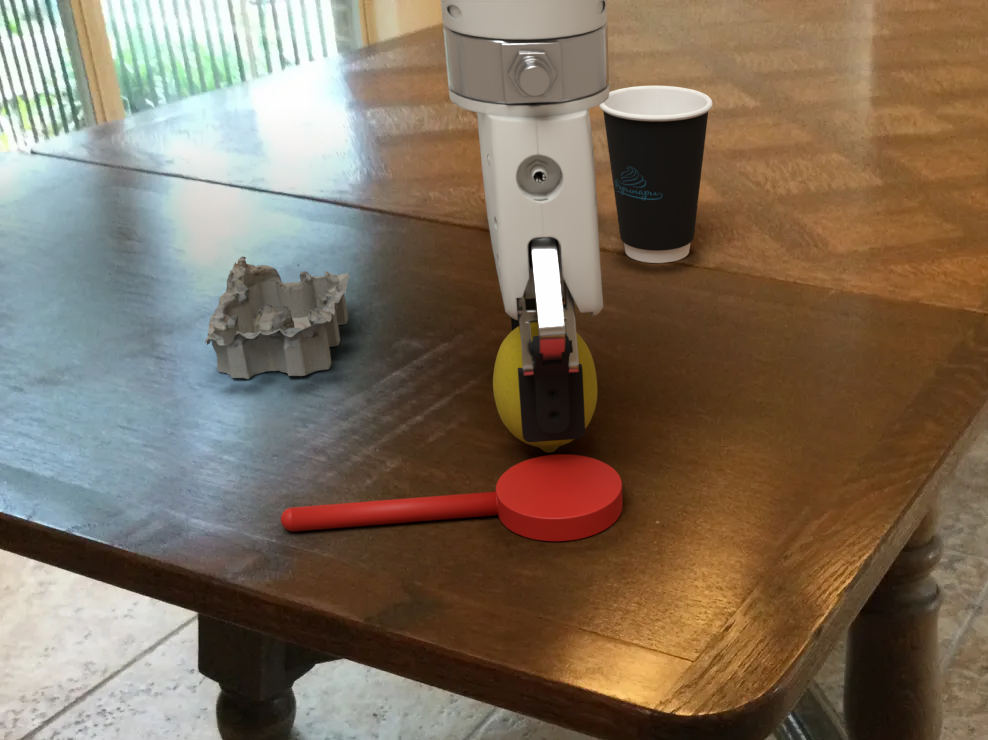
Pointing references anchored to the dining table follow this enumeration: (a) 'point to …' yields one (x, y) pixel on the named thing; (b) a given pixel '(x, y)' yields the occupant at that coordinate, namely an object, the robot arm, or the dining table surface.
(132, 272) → the dining table surface
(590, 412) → the lemon
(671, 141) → the dixie cup
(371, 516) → the red lollipop
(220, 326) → the egg carton
